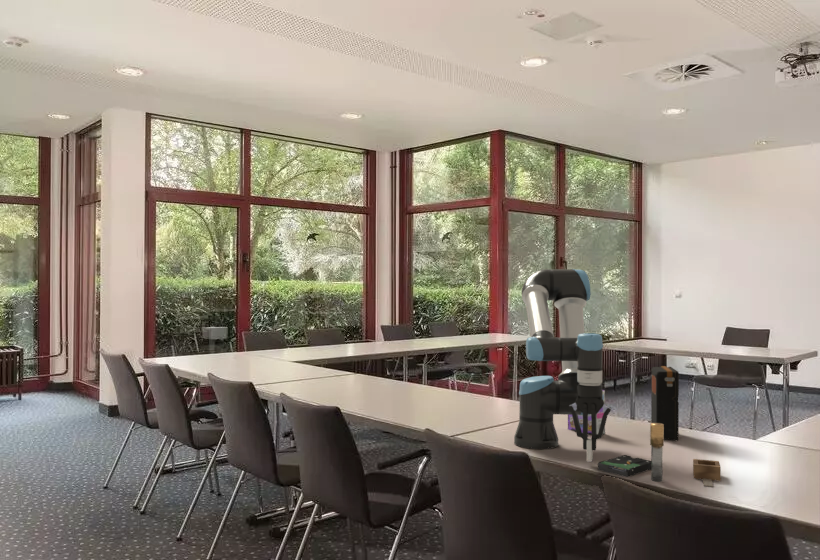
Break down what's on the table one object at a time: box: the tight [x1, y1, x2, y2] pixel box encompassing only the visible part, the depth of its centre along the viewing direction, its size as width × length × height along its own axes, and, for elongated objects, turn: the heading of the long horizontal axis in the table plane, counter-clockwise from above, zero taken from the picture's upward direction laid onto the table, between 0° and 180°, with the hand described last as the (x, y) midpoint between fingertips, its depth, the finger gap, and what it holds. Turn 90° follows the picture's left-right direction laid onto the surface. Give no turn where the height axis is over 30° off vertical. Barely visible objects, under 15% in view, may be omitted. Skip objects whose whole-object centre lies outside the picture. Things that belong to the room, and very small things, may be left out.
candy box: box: [567, 389, 606, 436], centre depth 259 cm, size 14×6×16 cm, turn 34°
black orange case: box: [650, 365, 680, 441], centre depth 252 cm, size 16×9×25 cm, turn 168°
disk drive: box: [597, 454, 651, 478], centre depth 207 cm, size 10×3×15 cm
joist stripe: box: [702, 478, 714, 488], centre depth 199 cm, size 2×21×1 cm, turn 159°
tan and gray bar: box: [649, 422, 665, 483], centre depth 196 cm, size 4×4×16 cm
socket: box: [692, 458, 722, 482], centre depth 199 cm, size 7×7×4 cm
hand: (589, 460), depth 211 cm, fingers closed
